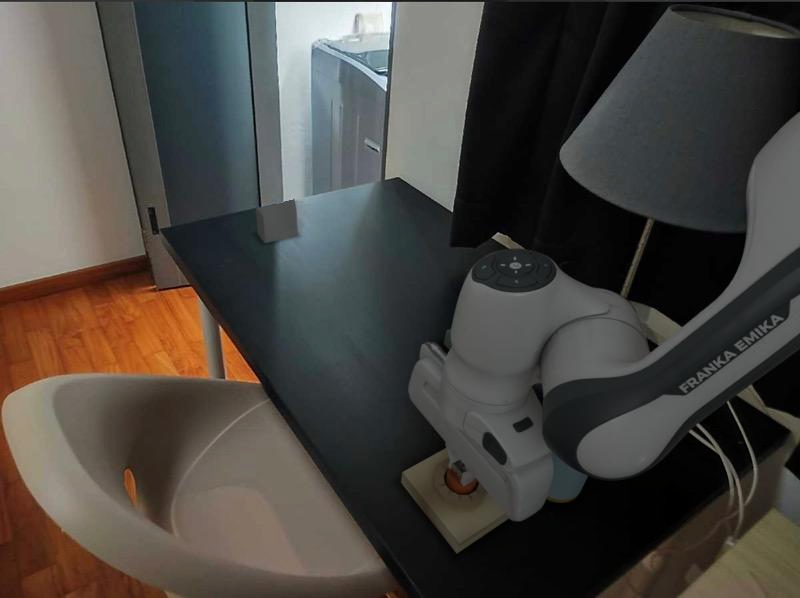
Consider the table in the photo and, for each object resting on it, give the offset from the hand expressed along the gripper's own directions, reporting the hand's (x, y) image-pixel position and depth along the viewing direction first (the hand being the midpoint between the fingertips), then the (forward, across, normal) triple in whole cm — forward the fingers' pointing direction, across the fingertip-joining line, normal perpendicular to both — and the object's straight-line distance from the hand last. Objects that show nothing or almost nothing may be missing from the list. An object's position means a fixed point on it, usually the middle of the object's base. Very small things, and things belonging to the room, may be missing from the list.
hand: (460, 474), depth 67 cm
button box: (+5, 0, 0) cm, 5 cm away
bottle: (+5, +4, +13) cm, 15 cm away
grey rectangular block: (+5, -65, +5) cm, 66 cm away
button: (+2, 0, 0) cm, 2 cm away
